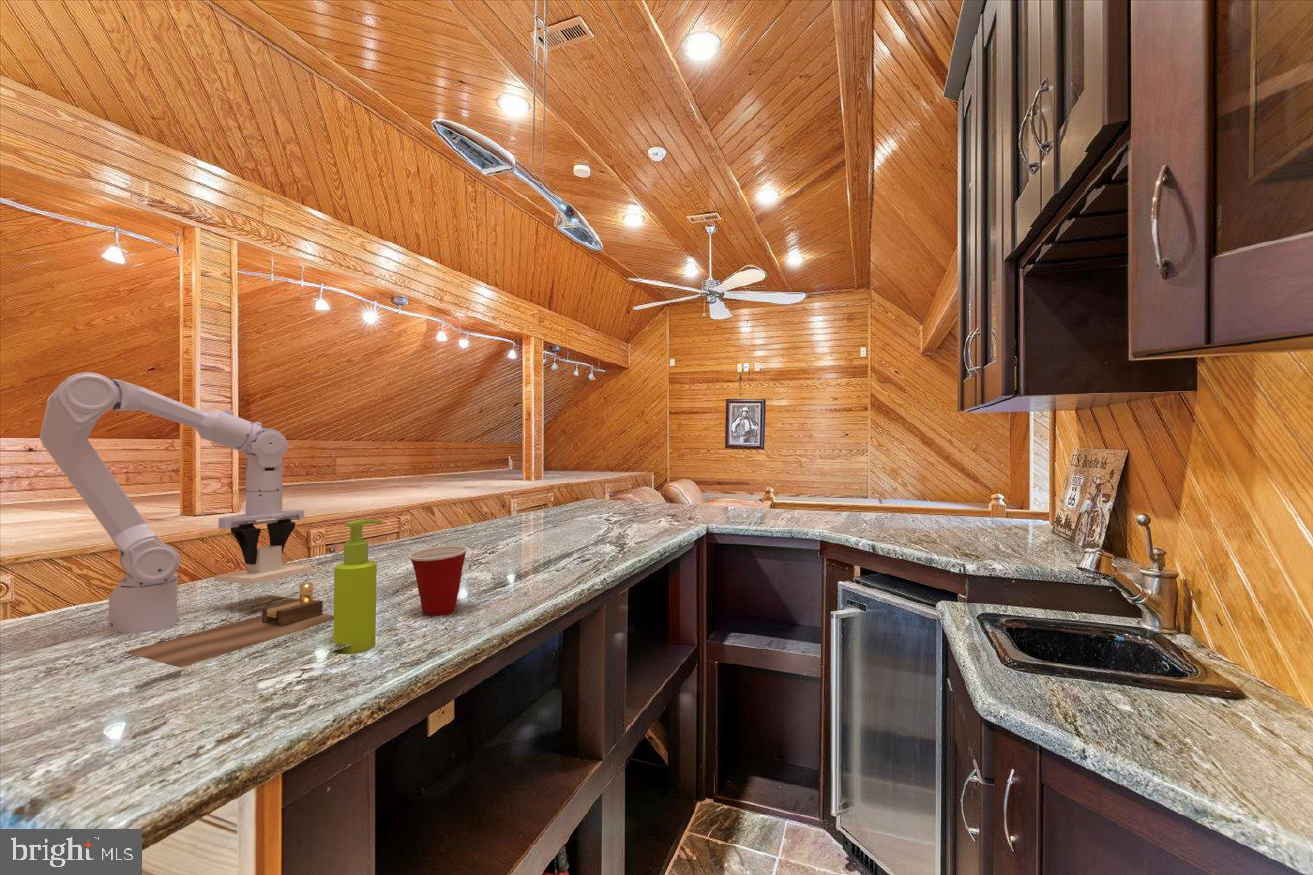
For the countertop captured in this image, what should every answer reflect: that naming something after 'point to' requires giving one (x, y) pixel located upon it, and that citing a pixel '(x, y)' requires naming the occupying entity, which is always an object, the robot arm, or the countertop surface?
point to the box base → (235, 635)
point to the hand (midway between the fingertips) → (263, 561)
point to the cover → (264, 568)
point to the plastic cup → (438, 577)
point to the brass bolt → (305, 597)
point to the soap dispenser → (355, 594)
